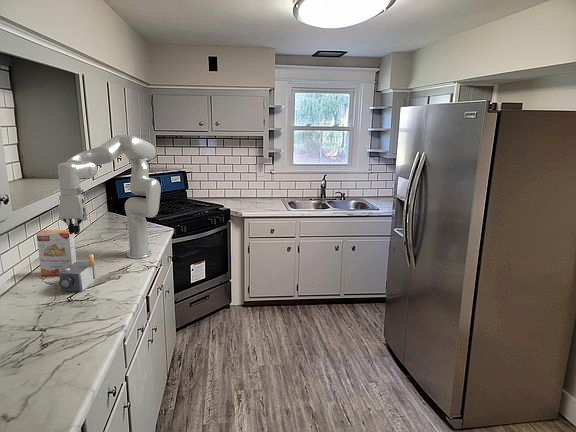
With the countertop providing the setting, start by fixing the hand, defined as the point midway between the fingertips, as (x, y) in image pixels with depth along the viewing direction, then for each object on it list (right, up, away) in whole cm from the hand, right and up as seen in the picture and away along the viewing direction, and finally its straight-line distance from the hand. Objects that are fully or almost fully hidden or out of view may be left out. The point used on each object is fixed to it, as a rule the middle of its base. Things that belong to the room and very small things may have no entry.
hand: (74, 233), depth 175 cm
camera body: (0, -23, +3) cm, 23 cm away
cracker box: (-15, -20, +15) cm, 29 cm away
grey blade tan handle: (+5, -23, +1) cm, 24 cm away
